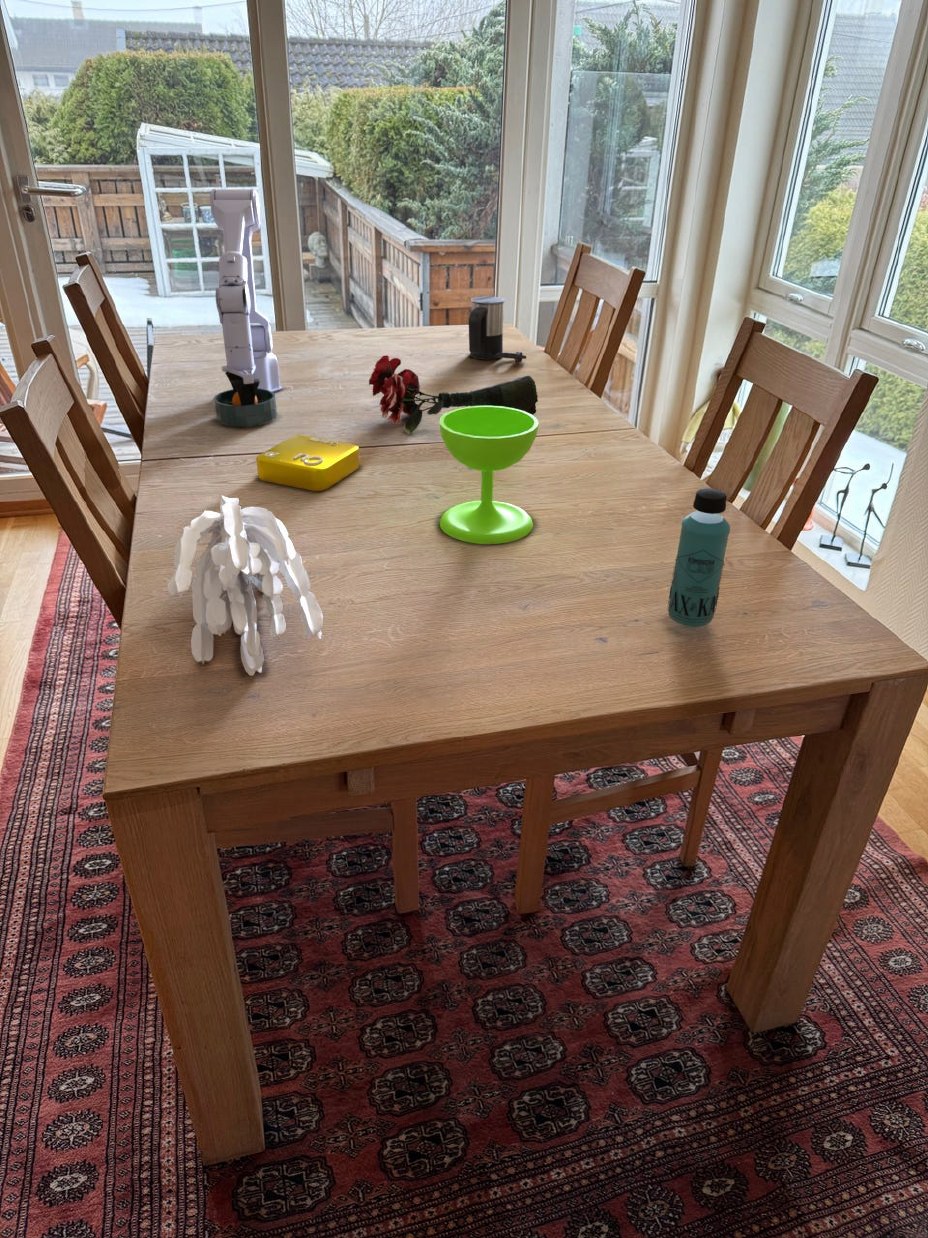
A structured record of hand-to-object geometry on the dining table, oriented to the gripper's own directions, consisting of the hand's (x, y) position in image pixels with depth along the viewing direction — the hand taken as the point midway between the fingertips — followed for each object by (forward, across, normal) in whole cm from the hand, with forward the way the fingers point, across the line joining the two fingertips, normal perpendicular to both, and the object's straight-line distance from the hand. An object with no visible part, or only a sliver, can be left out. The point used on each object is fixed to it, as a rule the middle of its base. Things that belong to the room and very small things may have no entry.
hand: (245, 407), depth 200 cm
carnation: (+3, +18, +42) cm, 45 cm away
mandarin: (-1, 0, 0) cm, 1 cm away
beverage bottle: (+3, +111, +38) cm, 117 cm away
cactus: (+3, +84, -18) cm, 86 cm away
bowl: (+3, 0, 0) cm, 3 cm away
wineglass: (+3, +70, +26) cm, 74 cm away
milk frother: (+3, -24, +73) cm, 77 cm away
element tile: (+3, +36, +4) cm, 36 cm away
